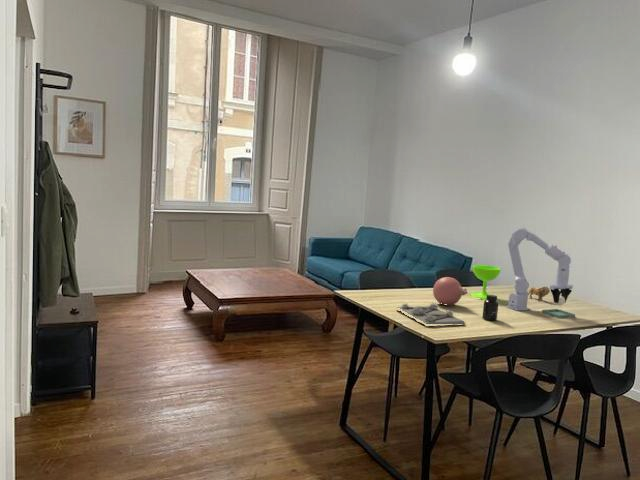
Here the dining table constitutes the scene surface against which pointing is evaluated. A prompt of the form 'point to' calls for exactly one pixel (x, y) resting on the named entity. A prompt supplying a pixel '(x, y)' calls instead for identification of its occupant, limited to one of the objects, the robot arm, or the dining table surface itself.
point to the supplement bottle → (490, 308)
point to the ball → (561, 301)
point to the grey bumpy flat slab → (431, 314)
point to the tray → (558, 313)
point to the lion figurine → (539, 292)
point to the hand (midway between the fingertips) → (559, 302)
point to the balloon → (448, 291)
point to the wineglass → (484, 277)
